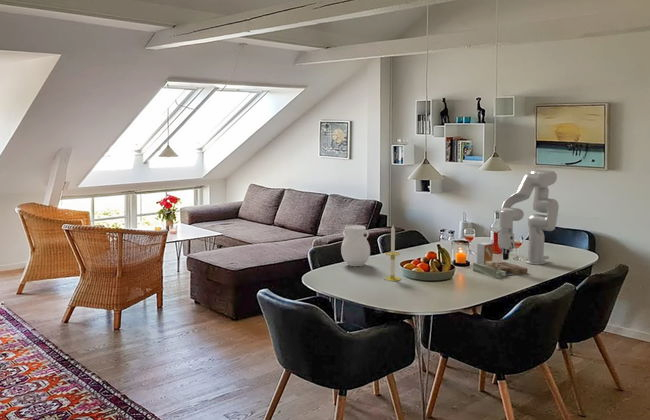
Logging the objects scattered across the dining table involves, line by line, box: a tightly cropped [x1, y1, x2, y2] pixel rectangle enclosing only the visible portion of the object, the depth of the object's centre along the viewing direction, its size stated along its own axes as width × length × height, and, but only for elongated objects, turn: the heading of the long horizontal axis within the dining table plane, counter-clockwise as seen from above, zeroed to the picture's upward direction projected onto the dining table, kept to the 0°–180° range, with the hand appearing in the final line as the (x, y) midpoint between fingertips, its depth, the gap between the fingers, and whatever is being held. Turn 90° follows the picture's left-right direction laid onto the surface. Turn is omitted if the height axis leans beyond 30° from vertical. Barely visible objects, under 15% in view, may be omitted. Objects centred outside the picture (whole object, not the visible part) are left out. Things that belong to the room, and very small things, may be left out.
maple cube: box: [485, 260, 499, 269], centre depth 388 cm, size 5×5×4 cm
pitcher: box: [340, 224, 371, 267], centre depth 409 cm, size 19×18×25 cm
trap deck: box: [472, 261, 528, 279], centre depth 391 cm, size 25×20×5 cm
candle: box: [385, 225, 402, 282], centre depth 373 cm, size 10×10×32 cm
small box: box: [476, 242, 494, 265], centre depth 414 cm, size 8×6×13 cm
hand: (505, 259), depth 392 cm, fingers closed
